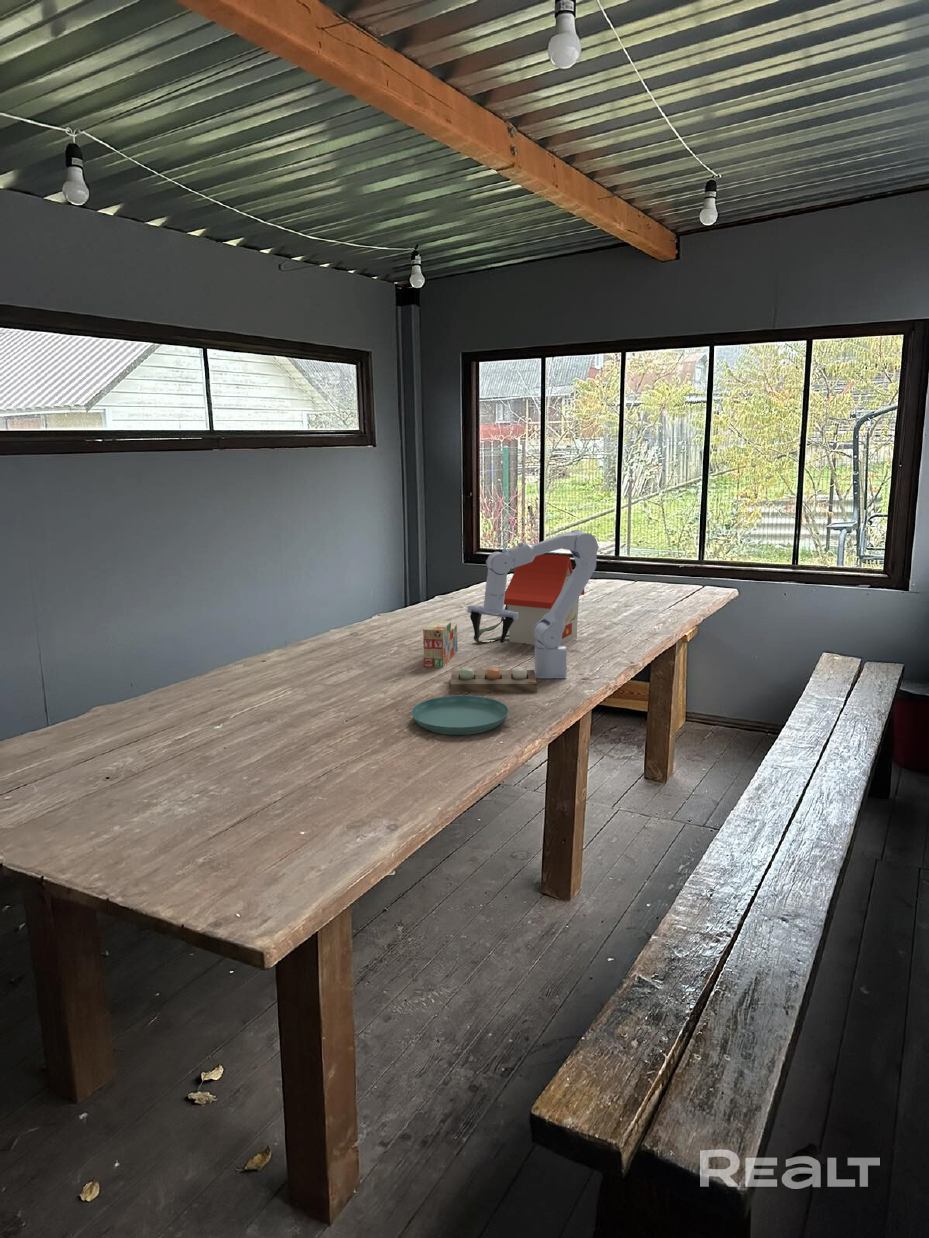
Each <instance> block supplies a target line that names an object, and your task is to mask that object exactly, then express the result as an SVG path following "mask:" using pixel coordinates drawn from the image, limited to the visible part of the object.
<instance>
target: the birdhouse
mask: <svg viewBox="0 0 929 1238" xmlns="http://www.w3.org/2000/svg"><path fill="white" fill-rule="evenodd" d="M573 571H574V569H573V565H572V562H571V557H570V555H563V554H548V553H544V554H541V555H538V556H535V558H534V560H533V561H532V562H530V563H527V564H524V565H522V566H519V567H516V568H514V572H513V575H512V577H511V579H510V582H509V584H508V586H506V590H505V598H504V607H505V608H503V609H504V610H508V611H513V612H518V619H517V620H514V621H513V623H512V624H511V626H510V628H509V630H508V634H506V637H505V638H509V643H514V644H515V643H516V644H517V643H518V644H523V643H526V644H525V645H533V646H535V642H536V639H535V638H534V636H533V633H532V630H533V627H534V625H535V624H536V623H537V622H539V621H540V620H541V619H542V617H543V616H544V615H545V614H547V613H548V612H549V611H550V610H551V608H552V606H553V605H554V603H555V601H556V600H557V598H558V596H559V594H560V593H561V591H562V589H563V588H564V586H565V584H566V582H567V581H568V579H569V577H570V576H571V574H572V572H573ZM580 596H585V588H584V589H583V591H582V593H581V594H580ZM579 602H580V597H579V598H578V599H577V601H576V603H575V605H574V606H573V608H572V610H571V611H570V613H569V615H568V617H567V618H566V620H565V629H564V631H563V634H562V640H561V642H560V644H559V646H562V645H563V644H565V643H567V642H568V641H571V640H572V639H574V638H577V636H578V619H579V618H578V617H579V616H578V615H579ZM503 619H505V618H503V617H500V622H498V623H497V624H494V625H492V626H489V627H485V628H479V638H478V639H475V634H474V635H473V640H474V642H476V643H478V644H481V643H484V644H488V643H487V642H482V641H483V640H480V637H481V636H482V635H483V634H484V633H486V632H490V631H493V630H495V629H497V628H498V627H499V626H500V625H501V623H503ZM501 636H502V635H501ZM501 636H496V637H491V638H487V639H486V640H497V641H499V640H501ZM489 643H492V642H491V641H490V642H489Z"/></svg>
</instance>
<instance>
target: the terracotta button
mask: <svg viewBox="0 0 929 1238" xmlns="http://www.w3.org/2000/svg"><path fill="white" fill-rule="evenodd" d="M485 670H486V679H500V670H501V668H500V667H488V668H486V669H485Z"/></svg>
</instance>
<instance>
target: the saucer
mask: <svg viewBox="0 0 929 1238" xmlns="http://www.w3.org/2000/svg"><path fill="white" fill-rule="evenodd" d="M410 713H411V716H412V718H413V720H414V721H415V722H416V723H417V724H418V726H420V727H422V728H423V729H425V730H427V731H430V732H431V733H432V732H433V733H436V734H439V735H449V736H467V735H476V734H481V733H484V732H488V731H491V730H493V729H495V728H496V727H498V726H499V725H501V724H502V723H503V722H504V721H505V719H506V718H507V717H508V714H509V708H508V706H507V705H506V704H505V703H503V702H501V701H499V700H497V699H493V698H490V697H485V696H479V695H478V696H477V695H465V694H464V695H447V696H440V697H439V696H438V697H434V698H430V699H426V700H424V701H422V702H419V703H417V704H416V705H415V706H414V707H412V709H411V712H410Z"/></svg>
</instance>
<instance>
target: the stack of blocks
mask: <svg viewBox="0 0 929 1238" xmlns="http://www.w3.org/2000/svg"><path fill="white" fill-rule="evenodd" d="M457 626H458V625H457V624H456V623H452V621H451V620H432V621H430V623H429V624H427V626H425V627H424V628H423V629H422V630H423V631H422V632H423V634H422V635H423V639H422V640H423V643H422V645H423V667H424V668H437V667H443V668H444V667H445V666H446V665H448V663H449V662H450V661H451V659H452V658H453V657H454V656H455V654H456V653H457V652H458V627H457ZM452 656H453V657H452ZM451 657H452V658H451ZM448 661H449V662H448ZM445 664H446V665H445Z"/></svg>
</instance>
